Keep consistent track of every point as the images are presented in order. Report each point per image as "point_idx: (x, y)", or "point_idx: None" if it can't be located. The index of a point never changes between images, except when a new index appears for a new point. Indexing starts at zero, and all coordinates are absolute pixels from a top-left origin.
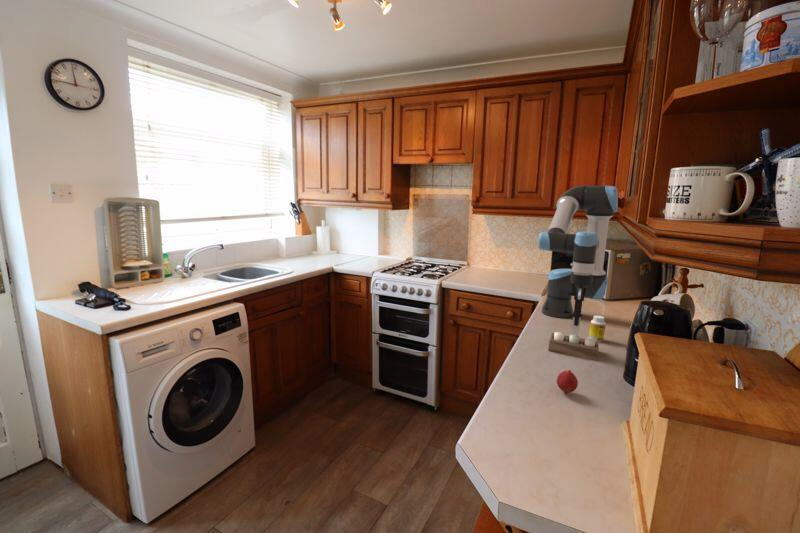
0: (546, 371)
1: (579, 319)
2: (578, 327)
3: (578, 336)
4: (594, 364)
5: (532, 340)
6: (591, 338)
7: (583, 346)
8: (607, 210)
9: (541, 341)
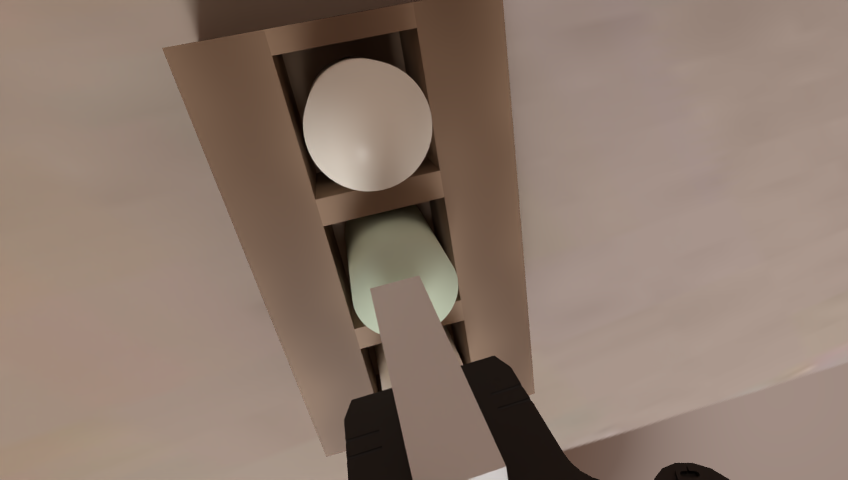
0: (804, 234)
1: (493, 442)
2: (443, 336)
3: (379, 262)
4: (566, 3)
5: None
6: (334, 123)
7: (487, 153)
8: None
9: None
